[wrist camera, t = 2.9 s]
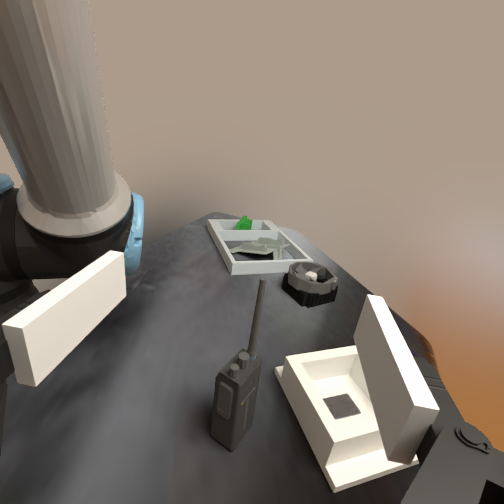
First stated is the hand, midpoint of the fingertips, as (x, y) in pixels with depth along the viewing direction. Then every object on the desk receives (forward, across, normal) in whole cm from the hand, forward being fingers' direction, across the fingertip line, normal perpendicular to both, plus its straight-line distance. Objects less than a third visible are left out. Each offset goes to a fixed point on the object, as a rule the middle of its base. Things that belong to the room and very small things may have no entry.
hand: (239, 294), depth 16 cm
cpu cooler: (+44, +10, -25) cm, 52 cm away
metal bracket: (+61, -2, -25) cm, 66 cm away
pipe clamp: (+74, -9, -24) cm, 78 cm away
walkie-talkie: (+10, 0, -25) cm, 27 cm away
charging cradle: (+15, +13, -25) cm, 32 cm away
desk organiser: (+65, -4, -24) cm, 69 cm away
